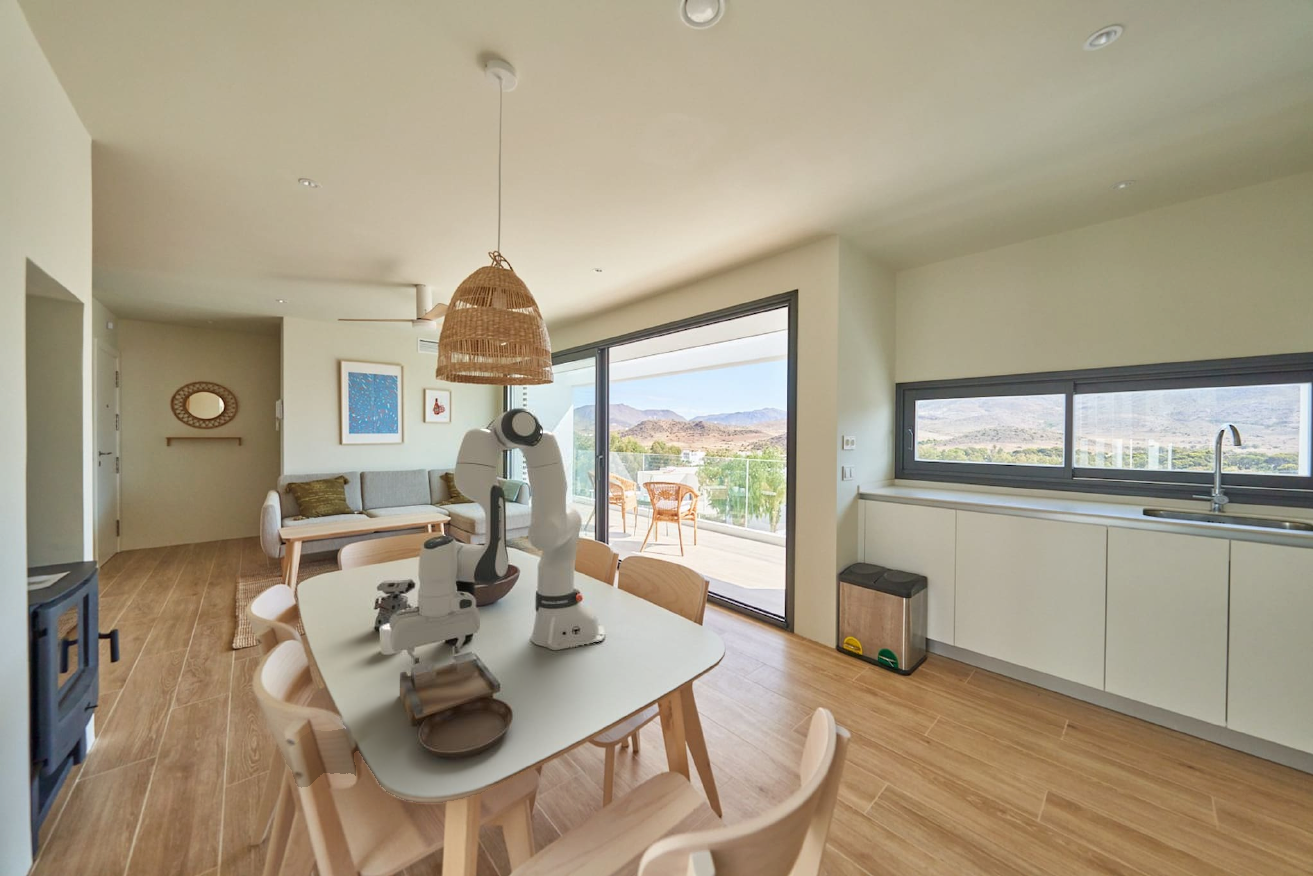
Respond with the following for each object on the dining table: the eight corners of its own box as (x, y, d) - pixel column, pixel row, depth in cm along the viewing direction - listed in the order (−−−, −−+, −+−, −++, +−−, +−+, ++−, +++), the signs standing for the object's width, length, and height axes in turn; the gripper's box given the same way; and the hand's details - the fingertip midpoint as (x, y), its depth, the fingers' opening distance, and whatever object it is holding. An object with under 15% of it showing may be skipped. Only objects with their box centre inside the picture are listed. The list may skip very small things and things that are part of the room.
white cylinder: (394, 657, 125) (394, 631, 126) (372, 654, 127) (373, 629, 127) (412, 646, 132) (412, 622, 132) (391, 643, 134) (392, 619, 134)
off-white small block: (410, 680, 105) (411, 667, 105) (431, 674, 108) (431, 662, 108) (414, 688, 102) (414, 675, 102) (435, 682, 105) (436, 669, 105)
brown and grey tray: (399, 695, 107) (400, 672, 107) (474, 673, 117) (474, 652, 117) (415, 736, 92) (416, 709, 92) (499, 707, 103) (500, 683, 103)
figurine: (399, 635, 139) (400, 586, 139) (370, 630, 143) (371, 582, 143) (422, 624, 148) (423, 578, 148) (394, 619, 151) (395, 574, 151)
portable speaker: (447, 650, 130) (448, 581, 130) (440, 638, 138) (441, 573, 138) (478, 642, 135) (479, 576, 135) (469, 631, 143) (470, 569, 143)
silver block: (452, 669, 111) (452, 656, 111) (470, 663, 114) (471, 651, 114) (457, 676, 108) (457, 663, 108) (476, 670, 110) (476, 658, 110)
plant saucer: (512, 756, 87) (512, 740, 87) (409, 774, 82) (409, 757, 82) (513, 705, 104) (513, 692, 104) (428, 717, 99) (428, 703, 99)
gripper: (391, 616, 105) (390, 676, 105) (482, 598, 118) (481, 652, 118) (387, 608, 110) (386, 665, 110) (475, 592, 123) (474, 643, 123)
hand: (436, 658), depth 114 cm, fingers open, 8 cm apart
